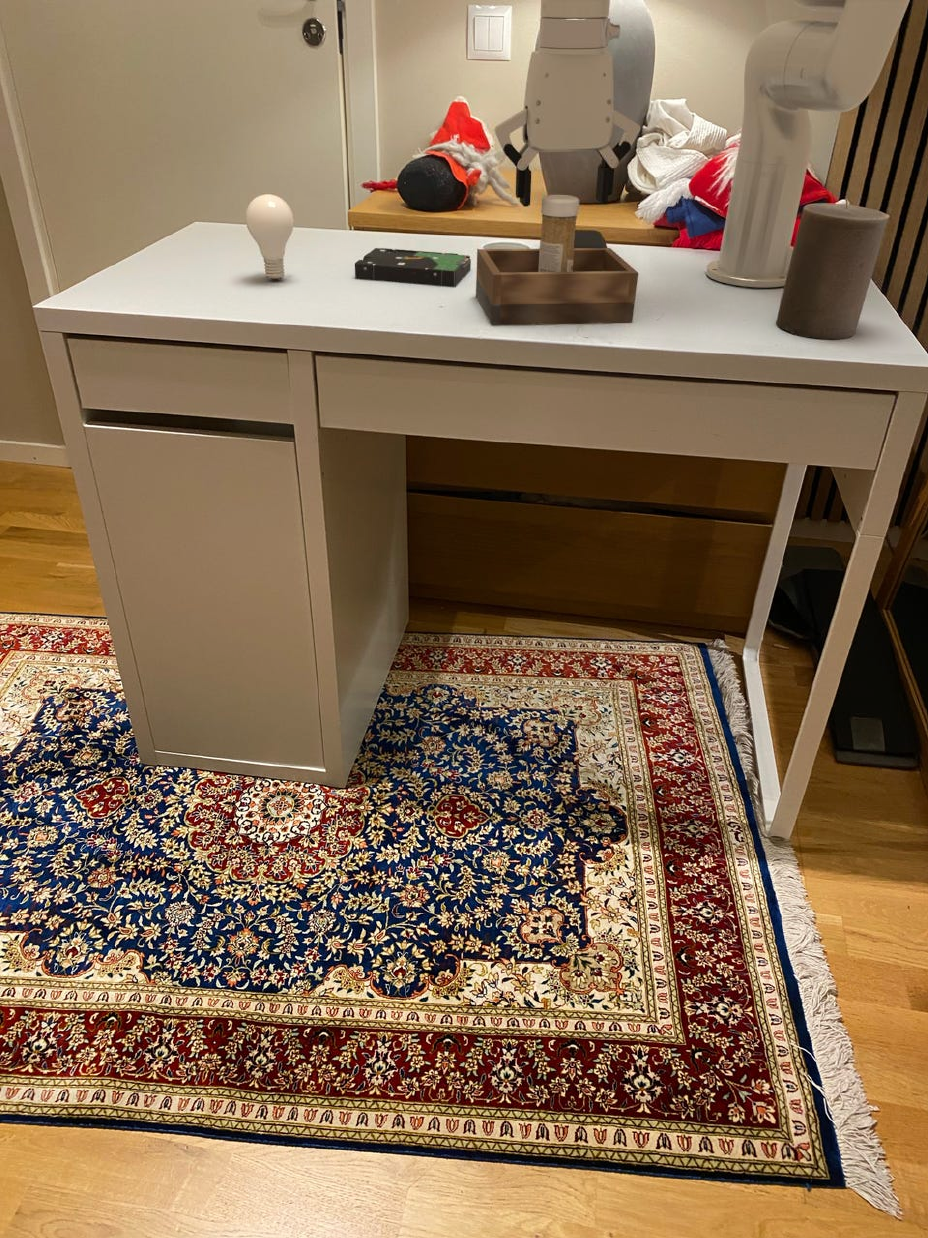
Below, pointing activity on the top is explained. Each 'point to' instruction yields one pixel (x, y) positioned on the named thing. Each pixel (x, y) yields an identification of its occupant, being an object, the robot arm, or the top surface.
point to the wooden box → (555, 288)
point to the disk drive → (413, 267)
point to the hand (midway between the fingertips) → (563, 203)
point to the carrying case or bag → (589, 239)
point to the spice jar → (558, 233)
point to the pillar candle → (830, 270)
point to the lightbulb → (270, 231)
